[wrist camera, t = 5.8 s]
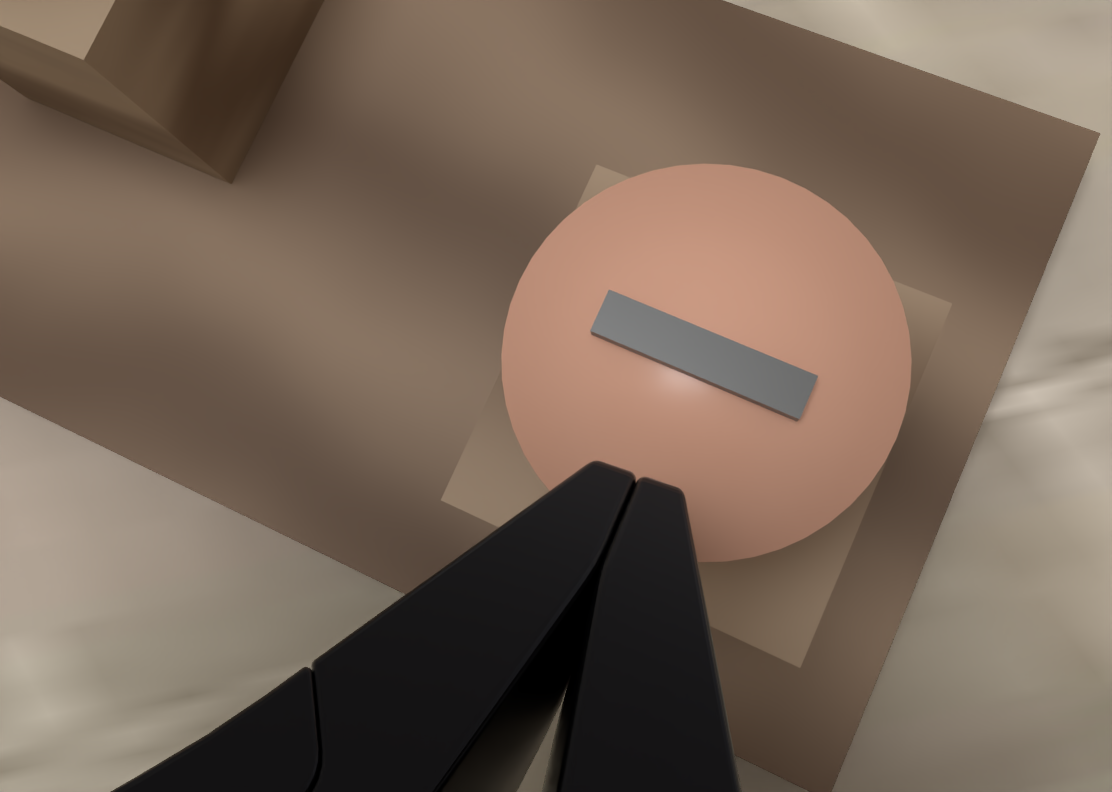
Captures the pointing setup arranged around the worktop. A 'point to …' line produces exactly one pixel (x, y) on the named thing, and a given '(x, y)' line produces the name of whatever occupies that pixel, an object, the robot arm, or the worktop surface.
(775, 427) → the button
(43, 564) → the worktop surface
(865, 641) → the console
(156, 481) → the worktop surface
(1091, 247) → the worktop surface
